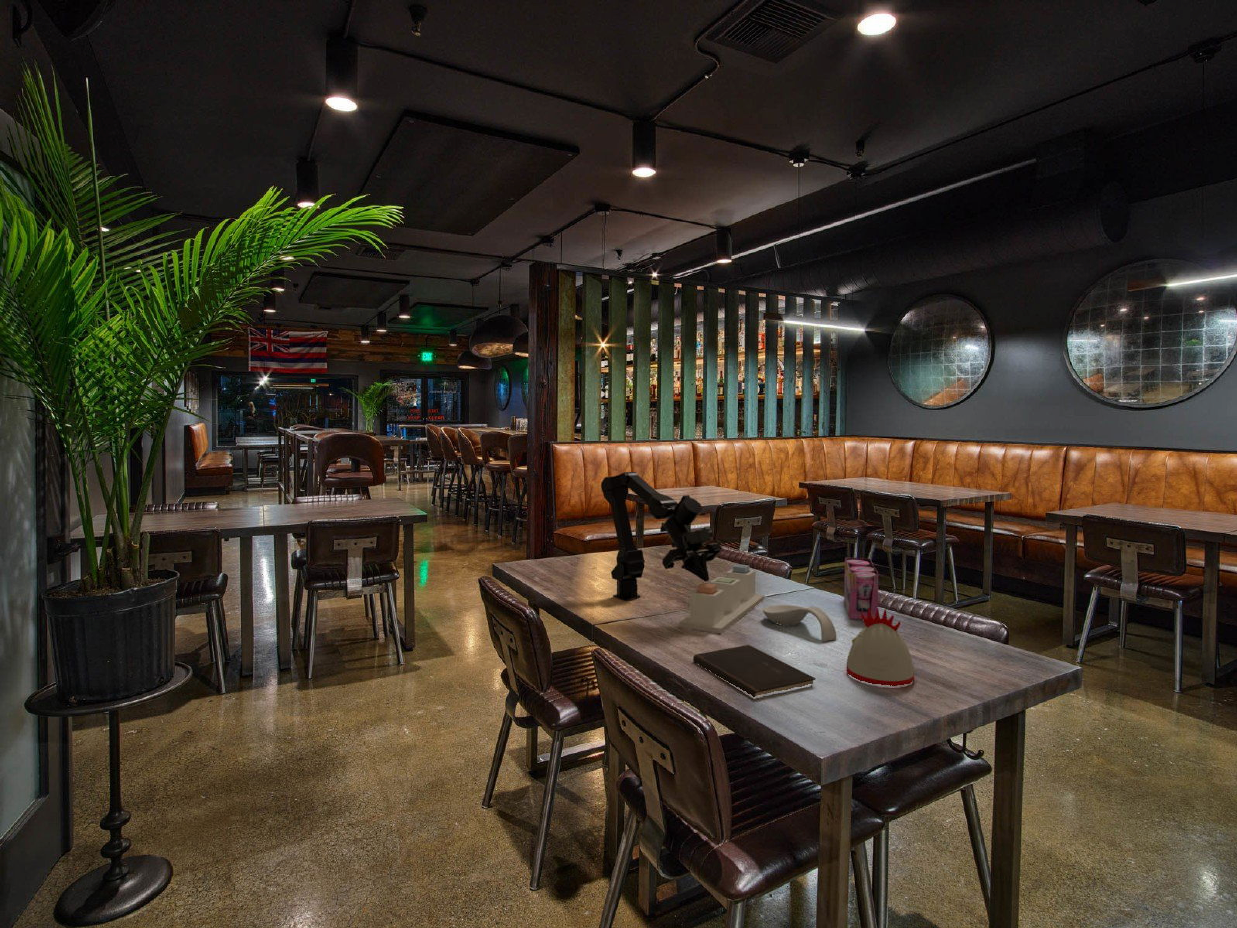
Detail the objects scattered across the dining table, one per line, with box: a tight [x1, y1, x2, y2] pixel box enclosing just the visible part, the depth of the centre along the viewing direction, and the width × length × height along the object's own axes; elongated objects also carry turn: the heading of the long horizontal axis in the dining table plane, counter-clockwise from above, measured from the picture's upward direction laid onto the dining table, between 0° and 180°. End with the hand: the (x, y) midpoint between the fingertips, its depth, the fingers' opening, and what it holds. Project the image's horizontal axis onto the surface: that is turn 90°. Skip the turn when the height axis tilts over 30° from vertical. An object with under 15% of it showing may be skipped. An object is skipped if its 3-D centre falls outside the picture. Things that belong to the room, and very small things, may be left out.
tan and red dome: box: [845, 608, 915, 686], centre depth 141 cm, size 14×14×15 cm
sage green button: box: [716, 577, 734, 584], centre depth 188 cm, size 4×4×4 cm
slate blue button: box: [732, 563, 750, 574], centre depth 200 cm, size 4×4×4 cm
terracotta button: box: [697, 582, 717, 595], centre depth 176 cm, size 4×4×4 cm
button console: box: [679, 568, 765, 634], centre depth 189 cm, size 12×38×10 cm, turn 150°
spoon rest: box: [762, 604, 838, 642], centre depth 175 cm, size 24×12×7 cm, turn 26°
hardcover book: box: [692, 644, 816, 697], centre depth 143 cm, size 16×23×2 cm
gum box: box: [843, 556, 879, 620], centre depth 192 cm, size 24×8×14 cm, turn 164°
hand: (707, 580), depth 176 cm, fingers closed
